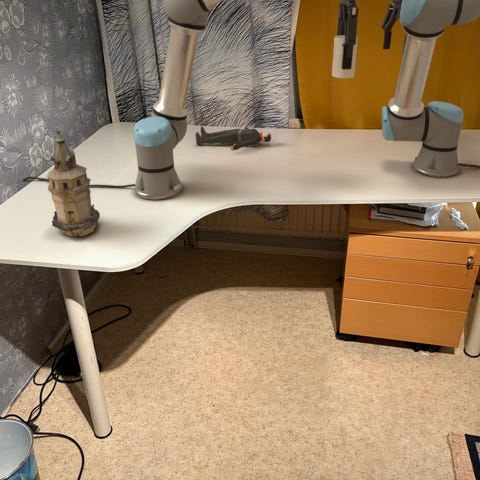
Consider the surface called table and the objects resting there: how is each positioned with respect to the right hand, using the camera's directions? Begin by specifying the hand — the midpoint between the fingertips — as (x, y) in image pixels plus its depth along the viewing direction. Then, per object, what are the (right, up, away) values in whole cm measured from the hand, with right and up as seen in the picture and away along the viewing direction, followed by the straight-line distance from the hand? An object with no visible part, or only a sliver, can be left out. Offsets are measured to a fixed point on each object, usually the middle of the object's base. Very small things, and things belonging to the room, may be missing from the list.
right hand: (395, 52), depth 204 cm
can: (-28, -22, -41) cm, 54 cm away
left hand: (-28, -19, -43) cm, 55 cm away
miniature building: (-107, -69, -49) cm, 136 cm away
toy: (-62, -33, +13) cm, 71 cm away
